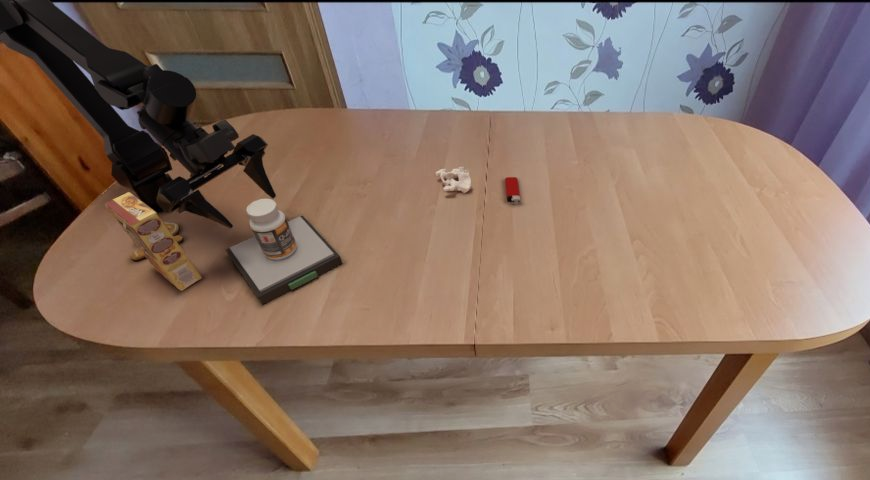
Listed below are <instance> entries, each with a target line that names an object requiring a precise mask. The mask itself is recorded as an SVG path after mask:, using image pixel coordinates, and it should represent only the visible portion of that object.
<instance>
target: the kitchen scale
mask: <svg viewBox="0 0 870 480" xmlns="http://www.w3.org/2000/svg"><path fill="white" fill-rule="evenodd" d="M287 222H288V224H289V226H290V229H291V231H292V234H293V236H294V239H295V241H296V245H297V246H296V250H295V251H294V253H293V254H291V255H290V256H288V257H286V258H284V259H279V260H273V259H269V258H267V257H266V256H265V255H264V253H263V251H262V249H261V247H260V245H259V243H258V241H257V239H256V237H255V236H252V237H250V238H247V239H246V240H243V241H241V242H239V243H237V244H234V245H232V246H230V247H229V248H226V249H225V251H226V253H227V255H228V257H229V258H230V260H231V261H232V262H233V264H234V266H235V267H236V268H237V270H238V271H239V273H240V274H241V276H242V277H243V279H244V280H245V282H246V283H247V285H248V286H249V287H250V288H251V290H252V291H253V294H254V295H255V296H256V297H257V299H258V301H259V302H260V304H262V305H265V304H266V303H268V302H270V301H272V300H275V299H277V298H278V297H280V296H282V295H284V294H286V293H288V292H290V291H293V290H294V289H296V288H299V287H301V286H303V285H304V284H306V283H308V282H310V281H312V280H314V279H316V278H318V277H319V276H321V275H323V274H325V273H327V272H329V271H331V270H333V269H335V268H337V267H338V266H339V267H340V266H341V265H343V262H342V258H341V256H340V254H339V253H338V252H337V251H336V250H335V249H334V248H333V247H332V245H330V244H329V242H328V241H327V240H326V239H325V238H324V237H323V235H322V234H321V233H320V232H319V231H318V230H317V229H316V228H315V227H314V226H313V225H312V224H311V223H310V221H309V220H307V218H306V217H305V216H304V215H300V216H298V217H295V218H292V219H291V220H288V221H287Z"/></svg>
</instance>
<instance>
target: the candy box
mask: <svg viewBox="0 0 870 480" xmlns="http://www.w3.org/2000/svg"><path fill="white" fill-rule="evenodd" d="M104 207H106V209H107V211H109V213H110V214H111V215H112V217H113V218H114V219H115V221H117V223H118V224H119V226H121V228H122V229H123V231H124V232H125V233H126V234H127V235H128V237H129V239H131V241H132V242H133V243H134V244H135V246H136V247H137V248H138V250H139V249H140V250H141V252H142V253H143V254H144V255H145V256H146V257H145V258H146V259H147V261H148V262H149V263H150V264H151V265H152V266H153V268H154V269H155V270H156V271H157V272H158V273H159V274H160V275H161V276H162V277H163V278H165V279H166V280H167V281H168V282H169V283H170V284H172V285H173V286H174V287H175V288H176V289H178V290H179V291H180V292H182V291H184V290H185V289H187V288H188V287H191V286H192V285H194V284H195V283H196V282H198V281H200V280H202V276H201V274H200V273H199V271H198V270H197V269H196V267H195V266H194V264H193V263H192V261H191V259H190V258H189V257H188V256H187V254H186V253H185V251H184V250H183V248H182V247H181V245H180V243H178V242H177V241H176V240H175V238H174V237H173V235H172V234H171V232H170V231H169V230H168V228H167V227H166V225H165V224H164V223H165V222H164V221H163V220H162V218H161V217H160V215H159V213H158V212H155V211H154V210H153V209H152V208H150V207H149V206H148V205H146V204H145V203H144V202H142V201H141V200H140V199H139V197H138V196H136V195H134V194H133V193H132V192H130V191H127V192H125V193H123V194H121V195H119V196H117V197H115V198H113V199H111V200H108V201H107V202H104Z"/></svg>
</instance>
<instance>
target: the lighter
mask: <svg viewBox="0 0 870 480" xmlns="http://www.w3.org/2000/svg"><path fill="white" fill-rule="evenodd" d="M504 183H505V193H506V194H505V195H506V201H507V202H508V203H511V204H512V205H520V204H521V196H520V188H519V181H518V177H516V176H507V177H505V178H504Z"/></svg>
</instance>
